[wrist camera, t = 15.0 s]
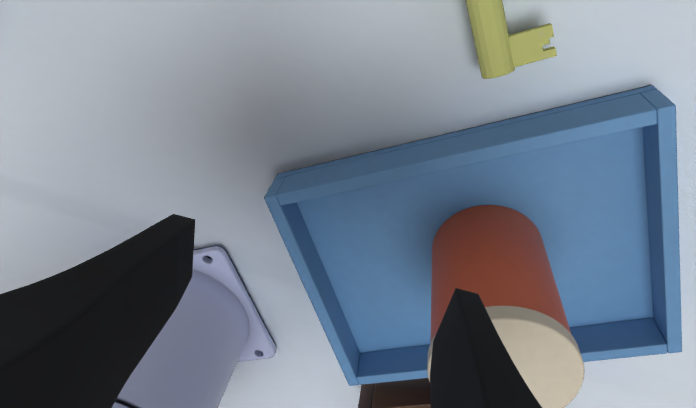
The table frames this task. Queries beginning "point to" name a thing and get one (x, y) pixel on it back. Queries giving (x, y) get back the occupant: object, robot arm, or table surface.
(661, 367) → the table surface
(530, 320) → the snack tub
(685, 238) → the table surface
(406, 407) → the compartment box
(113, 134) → the table surface
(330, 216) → the tray
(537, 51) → the key
